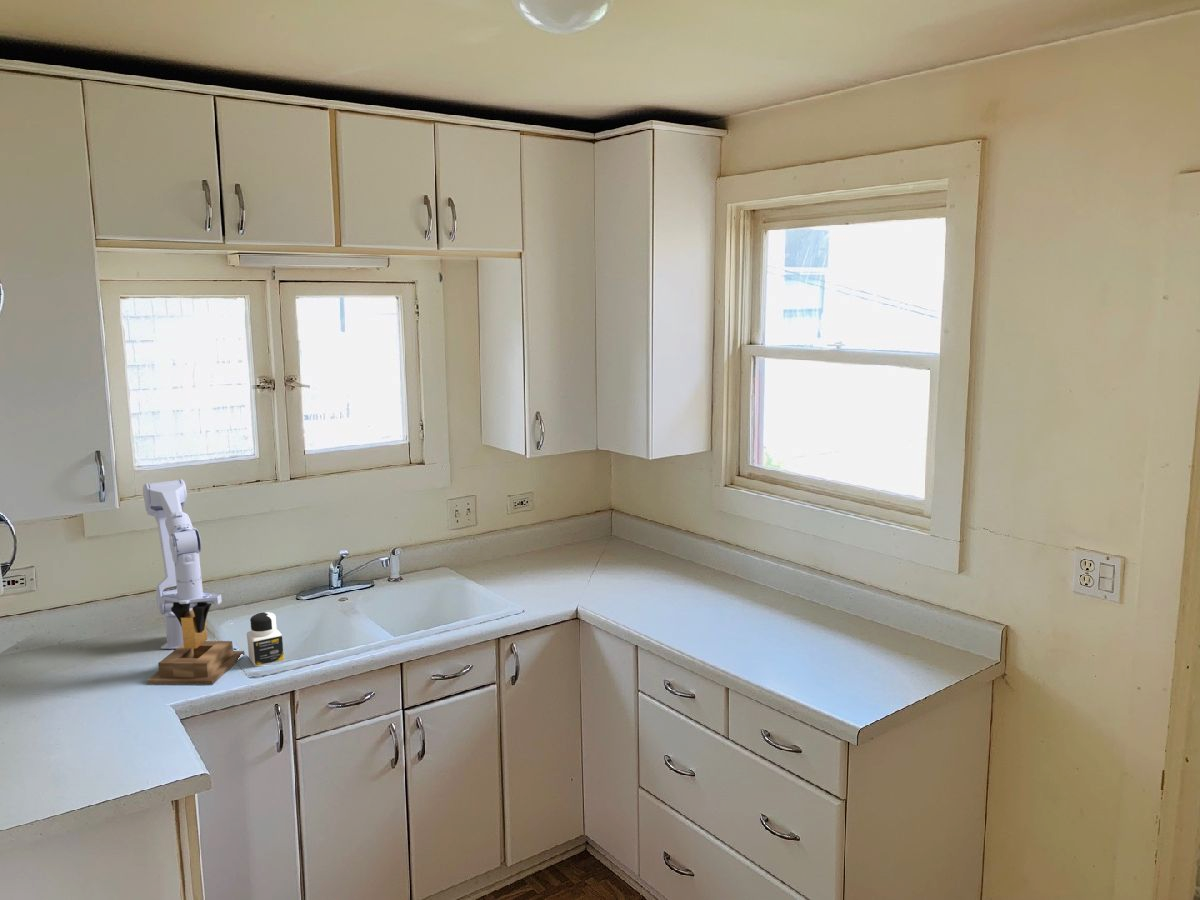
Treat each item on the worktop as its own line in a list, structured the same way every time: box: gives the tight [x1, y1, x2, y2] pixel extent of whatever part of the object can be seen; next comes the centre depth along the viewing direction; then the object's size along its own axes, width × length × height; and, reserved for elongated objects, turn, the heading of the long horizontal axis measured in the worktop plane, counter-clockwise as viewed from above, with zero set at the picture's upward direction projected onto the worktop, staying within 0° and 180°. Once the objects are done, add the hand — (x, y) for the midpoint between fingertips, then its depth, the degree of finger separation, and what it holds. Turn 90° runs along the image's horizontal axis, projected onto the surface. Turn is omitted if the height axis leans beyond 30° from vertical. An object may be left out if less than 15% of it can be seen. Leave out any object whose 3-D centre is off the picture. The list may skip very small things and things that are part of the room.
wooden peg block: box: [181, 609, 208, 649], centre depth 226 cm, size 6×3×8 cm, turn 177°
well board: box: [146, 640, 246, 686], centre depth 227 cm, size 18×16×4 cm
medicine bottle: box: [246, 611, 285, 668], centre depth 232 cm, size 7×7×12 cm
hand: (194, 631), depth 226 cm, fingers closed on wooden peg block, 3 cm apart
